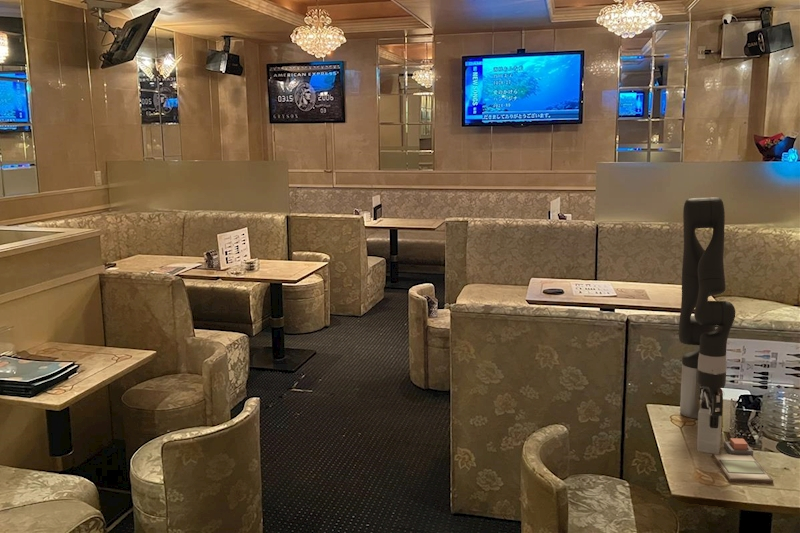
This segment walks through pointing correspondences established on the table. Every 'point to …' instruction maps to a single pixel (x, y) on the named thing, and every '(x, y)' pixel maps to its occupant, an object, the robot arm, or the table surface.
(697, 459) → the table surface
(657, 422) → the table surface
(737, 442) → the button
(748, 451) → the button housing
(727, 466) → the beige flat rectangular slab
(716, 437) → the skincare box
